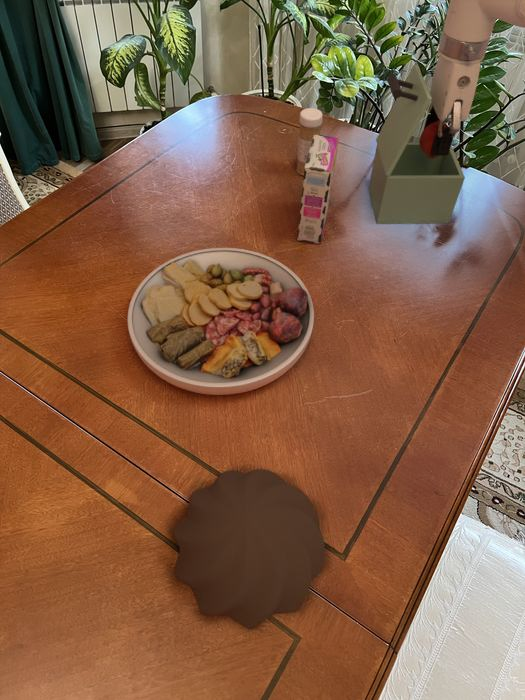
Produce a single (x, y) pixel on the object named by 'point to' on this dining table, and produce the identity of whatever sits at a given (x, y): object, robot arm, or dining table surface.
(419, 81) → the lid
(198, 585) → the decorative dome
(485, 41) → the robot arm
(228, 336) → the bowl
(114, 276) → the dining table surface
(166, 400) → the dining table surface
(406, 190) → the compartment
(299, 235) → the candy bar box
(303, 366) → the dining table surface
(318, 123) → the sprinkles bottle
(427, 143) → the onion
